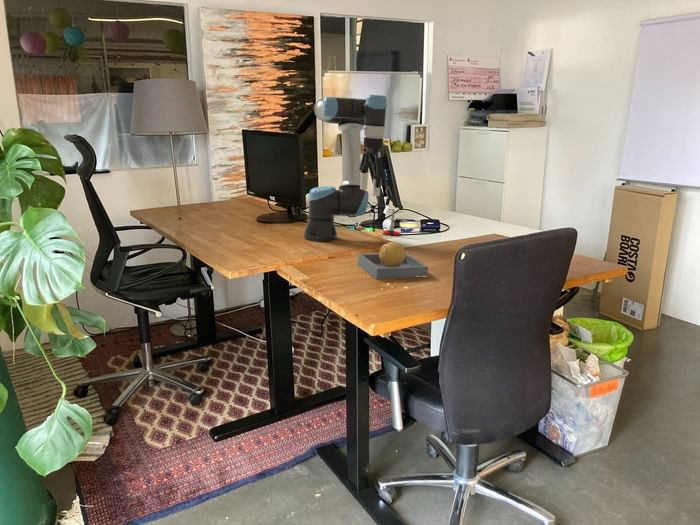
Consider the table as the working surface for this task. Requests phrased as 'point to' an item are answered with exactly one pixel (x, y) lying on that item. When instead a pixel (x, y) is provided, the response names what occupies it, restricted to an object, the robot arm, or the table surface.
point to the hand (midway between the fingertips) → (369, 192)
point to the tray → (379, 271)
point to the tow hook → (391, 228)
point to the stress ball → (392, 254)
